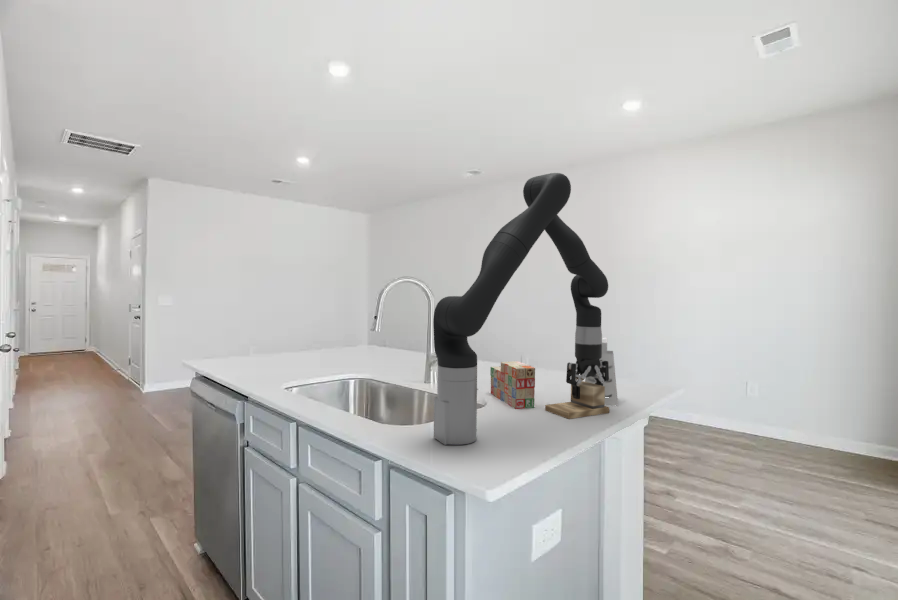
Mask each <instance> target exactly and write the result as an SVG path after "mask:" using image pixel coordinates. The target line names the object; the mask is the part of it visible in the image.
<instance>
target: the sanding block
mask: <svg viewBox="0 0 898 600" xmlns="http://www.w3.org/2000/svg"><path fill="white" fill-rule="evenodd" d="M570 402H572V403H575V404H578V405H581V406H585V407H588V408H591V409H597V408H604V406H606V405H605V386H601V385H597V384H593V383H589V382H585V380H583V381H582V382H581V384H580V399H575V398H573V396H572V385H571V384H570Z"/></svg>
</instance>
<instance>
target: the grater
mask: <svg viewBox="0 0 898 600" xmlns="http://www.w3.org/2000/svg"><path fill="white" fill-rule="evenodd" d="M614 358H615V357H614V351H613V350H608V337H602V358H601V359H600V360H604V361H608V366H609V380H608V381H605V382H604V383H603V386H605V397H609V398H605V406H607V405H616V406H615V407H619V401H618V400H619V399H618V389H617V378H616V368H615V359H614ZM599 370H600V368H599ZM604 376H605V373H604ZM584 381H585V382H589V383H593V384H595V383H596V381H595V380H594V378H593V377H591V376H590V377H585V379H584Z"/></svg>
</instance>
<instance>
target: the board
mask: <svg viewBox="0 0 898 600" xmlns="http://www.w3.org/2000/svg"><path fill="white" fill-rule="evenodd" d="M544 407H545V408H544V411H545V412H549V413H551V414H553V415H555V416H556V415H557V416H559V417H563V418H565V419H568V420H570V419H571V420H573V419H578V418H585V417H590V416H591V415H592V416H598V414H599V415H605V414H609V413H610V406H607V405H605V406H604V408H597V409H591V408H588V407H585V406H581V405H578V404H575V403H572V402H571V401H567V402H566V401H564V402H558V403H551V404H545V405H544ZM592 416H591V417H592Z"/></svg>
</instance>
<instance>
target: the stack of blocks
mask: <svg viewBox="0 0 898 600" xmlns="http://www.w3.org/2000/svg"><path fill="white" fill-rule="evenodd" d="M535 388H536V367H535V366H532V365H530V364H527V363H523V362H522V361H517V360H516V361H515V360H514V361H501V362H500V366H490V394H491V395H493V396H494V397H496V398H497V399H499V400H500V401H502V402H503V403H505V404H507V405H508V406H510V407H511V408H513V409H515V410H520V409H521V410H522V409H534V408H535V399H536V398H535Z"/></svg>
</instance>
